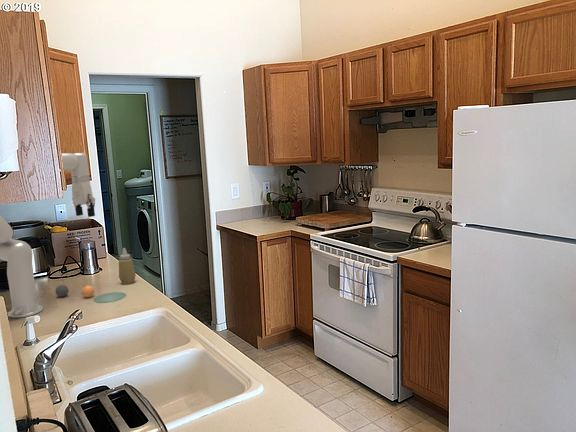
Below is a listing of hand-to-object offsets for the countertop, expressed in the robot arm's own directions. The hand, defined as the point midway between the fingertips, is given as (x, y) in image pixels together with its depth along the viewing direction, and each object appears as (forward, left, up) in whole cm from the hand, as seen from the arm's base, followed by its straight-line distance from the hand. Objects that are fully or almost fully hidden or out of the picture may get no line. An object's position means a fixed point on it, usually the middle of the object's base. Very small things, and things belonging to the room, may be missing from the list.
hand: (85, 215), depth 222 cm
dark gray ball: (-7, +13, -34) cm, 37 cm away
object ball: (-9, -1, -34) cm, 35 cm away
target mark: (-11, -12, -37) cm, 40 cm away
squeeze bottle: (+11, -12, -37) cm, 40 cm away
